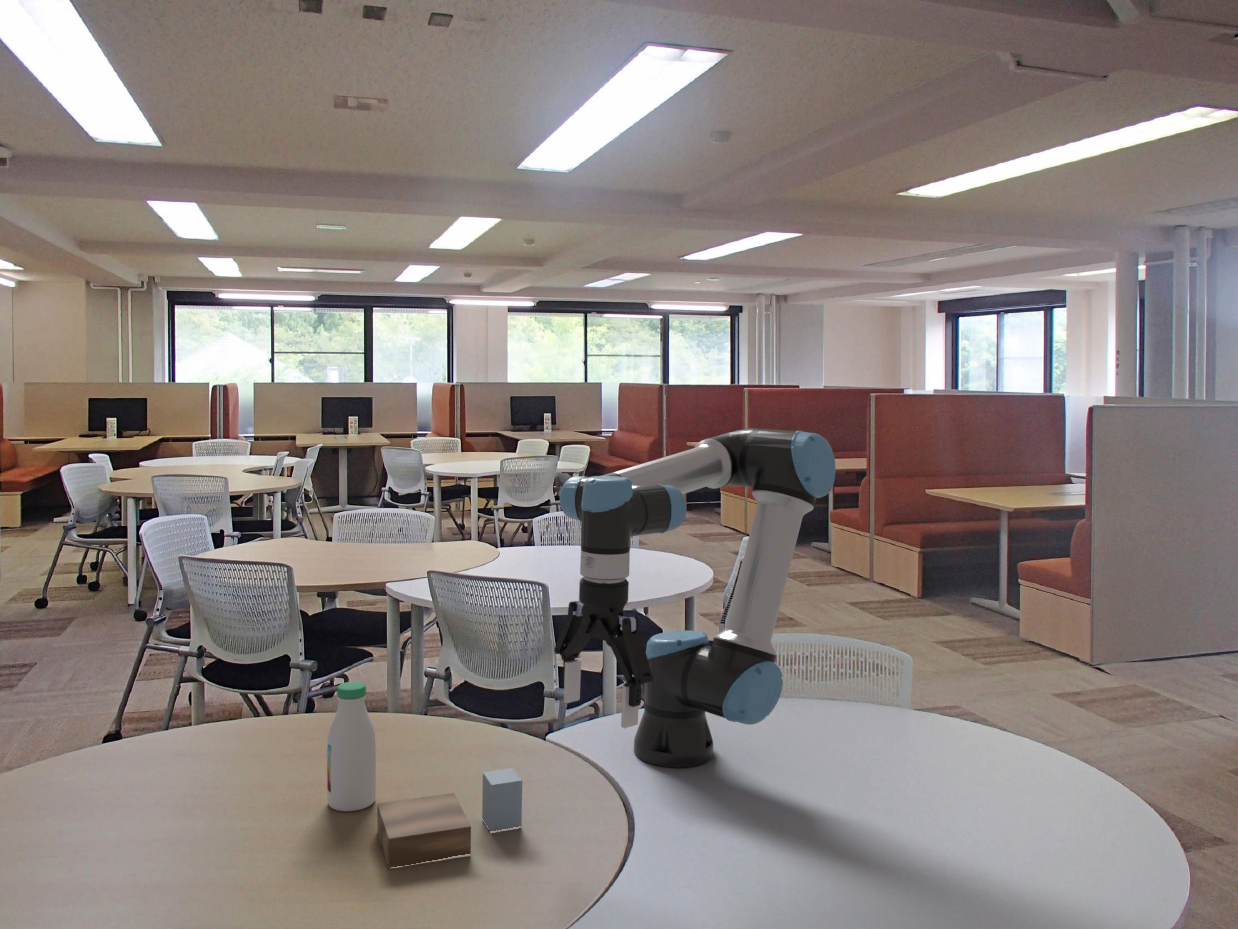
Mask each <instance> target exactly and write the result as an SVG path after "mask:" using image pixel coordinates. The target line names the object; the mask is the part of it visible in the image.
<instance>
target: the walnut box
mask: <svg viewBox="0 0 1238 929" xmlns="http://www.w3.org/2000/svg"><path fill="white" fill-rule="evenodd" d="M376 810H377V816H376V818H377V821H376V822H377V828H376V829H377V831H376V832H377V836H378V838H379V842H380V844H381V845H382V846H381V849H382V851H383V855H385V856H384V859H385V858H386V859H385V862H386V861H387V862H386V865H387V864H388V866H387V868H388V867H389V868H391V867H397V866H405V865H411V864H416V863H421V862H426V861H432V860H438V859H443V858H448V857H452V856H458V855H465V854H470V853H471V854H472V852H471V851H472V850H471V848H472V844H471V842H472V841H471V840H472V826H471V823H470V822H469V820H468V818H467V816H466V814H465V812H464V810H463V808H462V806H461V803H460V802H459V800H458V798H457V796H456V794H455V793H454V792H452V793H451V792H450V793H445V794H437V795H431V796H430V795H429V796H423V797H417V798H416V797H414V798H407V799H402V800H394V801H387V802H379V803H377V809H376Z"/></svg>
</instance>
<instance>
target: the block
mask: <svg viewBox="0 0 1238 929" xmlns="http://www.w3.org/2000/svg"><path fill="white" fill-rule="evenodd" d="M481 799H482V805H481V808H482V809H481V810H482V811H481V813H482V814H481V815H482V816H481V820H482V819H483V820H484V822H485V823H486V825H487V826H488V828H489V830H490V831H496V830H497V831H498V830H502V829H508V828H509V829H510V828H513V827H519V826H521V827H522V822H523V821H522V816H523V812H522V811H523V779H522V778H521V777H520V775H519V774H518V772H516V770H515V769H514V768H513V767H511V768H505V769H503V768H502V769H496V770H491V771H489V770H488V771H483V772H482V798H481ZM484 822H483V823H484Z"/></svg>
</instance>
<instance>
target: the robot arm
mask: <svg viewBox="0 0 1238 929" xmlns="http://www.w3.org/2000/svg"><path fill="white" fill-rule="evenodd" d="M835 478H836V461H835V455H834V452H833V448H832V446H831V444H830V443H829V441H828V440H827V439H826V438H825V437H823V436H822V435H821V434H818V433H816V432H815V433H814V432H807V431H804V430H788V429H787V430H784V429H771V428H761V427H760V428H759V427H750V428H743V429H739V430H738V429H737V430H733V431H731V432H730V431H729V432H726V433H723V434H720V435H719V434H718V435H716V436H711V437H709V438H705V439H703V440H700V441H699V442H698V443H696V445H695V446H694V448H691V449H687V450H685V451H681V452H678V453H674V454H671V455H667V456H664V457H660V458H657V459H654V460H650V461H647V462H644V463H641V464H637V465H634V466H630V467H628V468H624V469H620V470H617V471H613V472H609V473H606V474H603V475H602V474H601V475H594V476H587V475H583V476H572V477H569V479H567V480H566V481H565V482H564V484H563V485H562V487H561V489H560V493H559V504H560V508H561V511H562V513H563V514H564V515H565V516H566V517H567V518H570V519H572V520H575V521H579V522H580V524H581V526H580V527H581V528H580V531H581V532H580V533H581V534H580V537H581V538H580V566H579V567H580V568H579V574H580V575H581V576H582V578H580V579H579V585H578V586H579V587H578V588H579V592H578V600H574V601H569V603H568V610H567V616H566V618H565V620H564V623H563V626H562V628H561V631H560V633H559V635H558V638H557V641H556V643H555V646H554V653H555V654H556V655H559V656H560V658H561V660H562V661H563V663H562V664H563V666H562V668H563V670H562V671H563V672H562V677H563V678H562V679H563V680H564V683H563V684H564V685H563V686H564V687H563V703H564V704H570V703H573V702H574V703H575V702H577V701H581V700H580V699H581V678H582V677H581V676H582V672H581V671H582V660H581V659H580V658H581V656H580V654H581V653H582V652H583V650H584V649H585V647H586V646H587V645H588V644H589V642H590V640H591V639H592V638H598V639H600V640H601V641H605V644H606V645H607V646H609V647H610V649H611V651H612V653H613V655H614V657H615V660H616V662H617V664H618V666H619V668H620V671H621V673H622V675H623V677H624V680H625V683H623V684H622V692H621V693H622V694H621V695H622V696H621V717H620V718H621V719H620V720H621V722H620V725H621V726H620V727H621V728H622V729H628V728H629V727H630V728H631V727H633V726H637V725H638V724H639V725H638V728H637V731H636V734H635V735H634V740H633V752H634V754H635V757H637V758H638V759H640V760H642V761H643V762H646V763H649V764H652V765H655V766H659V767H666V768H692V767H697V766H700V765H703V764H705V763H707V762H709V761H710V760H711V759H712V758H713V756H714V739H713V736H712V732H711V730H710V727H709V726H710V725H709V722H708V719H707V715H706V713H708V714H712V715H715V716H717V717H719V718H723V719H726V721H729V722H733V723H740V724H743V725H746V726H747V725H749V726H750V725H756V724H758V723H760V722H762V721H764V720H765V718H767V717H768V716H770V714H771V713H772V712H773V710H774V709H775V708H776V707H777V704H778V702H779V700H780V697H781V694H782V691H783V686H784V680H783V678H782V677H783V672H782V670H781V668H780V667H779V666H778V665H777V664H776V663H775V661H776V658H777V652H776V650H775V648H774V647H773V645H772V641H773V640H772V639H773V635H774V632H775V627H776V624H777V619H778V615H779V612H780V608H781V604H782V601H783V600H782V599H783V595H784V591H785V588H786V584H787V580H788V575H789V572H790V569H791V563H792V560H793V556H794V553H795V549H796V544H797V540H798V536H799V533H800V529H801V524H802V521H803V517H804V516H805V515H806V514H808V513H810V512H812V511H813V510H814V507H815V504H816V500H817V499H820V498H824V497H825V496H827V495H828V494H829V492H830V491H831V490H832V488H833V486H834V483H835ZM727 486H729V487H731V486H732V487H733V486H734V487H744V488H750V489H751V488H752V491H751V492H752V493H751V495H752V496H753V498H754V500H755V502H756V509H755V513H754V517H753V520H752V523H751V528H750V532H749V534H748V535H749V536H748V539H747V543H746V547H745V551H744V554H743V558H742V561H741V566H740V569H739V574H738V577H737V581H736V585H735V589H734V593H733V597H732V600H731V603H730V609H729V612H728V614H727V619H726V622H725V627H724V629H723V630H722V631H721V632H719V633H717V634H715V635H714V636H713V639H712V643H711V645H709V642H710V640H709V636H708V634H706V632H704V631H699V630H673V631H672V630H671V631H663V632H661V633H656V634H654V635H652V636H651V637H650V638H649V639H648V640H647V643H646V649H645V645H644V641H643V638H642V635H641V628H640V626H641V625H640V617H639V616H637V615H635V616H626V615H625V613H624V611H625V610H624V609H625V606H626V605H627V603H628V602H629V587H630V586H629V581H628V580H627V578H628V577H630V557H631V556H630V553H631V552H630V551H631V537H634V536H635V537H636V536H643V535H651V534H664V533H666V532H670V531H674V530H677V529H678V528H679V527H681V526H682V524H683V523H684V521H685V520H686V519H685V518H687V517H686V516H687V501H686V498H685V496H684V495H685V494H688V493H690V492H694V491H697V490H700V489H702V488H705V487H707V488H709V489H719V488H723V487H727ZM642 685H644V705H643V707H644V709H643V710H644V711H643V714H642V717H641V718H640V719H641V720H640V722H639V707H640V706H641V703H642V689H643V688H642Z"/></svg>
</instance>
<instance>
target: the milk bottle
mask: <svg viewBox="0 0 1238 929" xmlns="http://www.w3.org/2000/svg"><path fill="white" fill-rule="evenodd" d="M336 695H337V698H336V700H337V701H338V703H337V704H338V705H337V708H336V712H335V714H334V717H333V719H332V721H331V723H330V726H329V730H328V735H327V747H326V748H327V749H326V750H327V758H326V759H327V760H326V762H327V763H326V765H327V766H326V770H327V771H326V775H327V777H326V778H327V780H326V782H327V787H326V789H327V793H326V794H327V795H326V796H327V803H328V805H329V807H330V808H331V809H333V810H335V811H337V812H338V811H339V812H356V811H360V810H364V809H367V808H369V807H370V806H372V805H373V803H374V802H375V800H376V793H377V790H376V788H377V786H376V784H377V783H376V782H377V778H376V777H377V776H376V774H377V773H376V770H377V768H376V767H377V766H376V765H377V763H376V762H377V759H376V757H377V756H376V753H377V752H376V751H377V750H376V743H377V742H376V731H375V726H374V722H373V721H372V719H371V716H370V714H369V712H368V710H367V707H366V703H365V700H366V698H367V696H366V695H367V685H366V684H365V683H364V682H361V681H360V682H359V681H346V682H342V683H341V684H339V685H338V686H337V689H336Z"/></svg>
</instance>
